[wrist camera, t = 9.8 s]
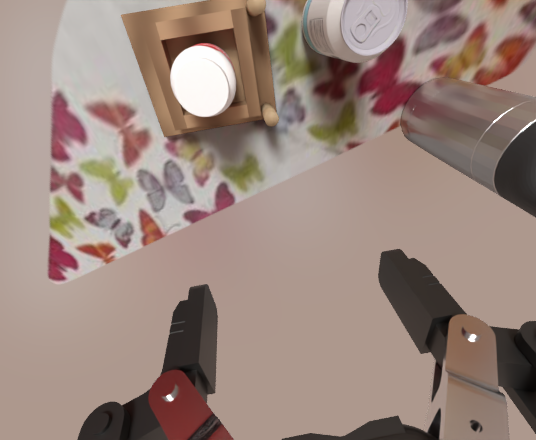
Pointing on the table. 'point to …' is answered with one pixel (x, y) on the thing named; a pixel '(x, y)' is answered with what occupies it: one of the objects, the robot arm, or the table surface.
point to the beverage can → (353, 27)
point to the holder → (214, 32)
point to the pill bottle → (203, 80)
